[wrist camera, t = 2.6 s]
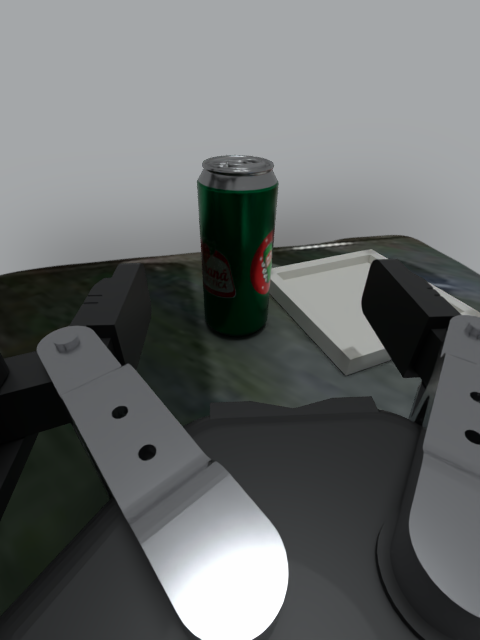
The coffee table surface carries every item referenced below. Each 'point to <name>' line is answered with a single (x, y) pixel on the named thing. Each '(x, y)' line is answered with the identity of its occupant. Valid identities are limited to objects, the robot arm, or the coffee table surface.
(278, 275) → the tray
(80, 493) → the coffee table surface
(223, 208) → the soda can
